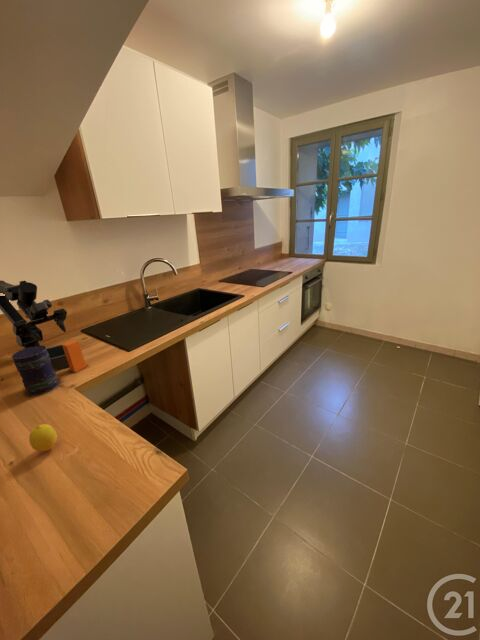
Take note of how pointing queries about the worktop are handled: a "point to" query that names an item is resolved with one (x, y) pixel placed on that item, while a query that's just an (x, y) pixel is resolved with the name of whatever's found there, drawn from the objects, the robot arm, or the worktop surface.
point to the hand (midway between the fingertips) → (53, 335)
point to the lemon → (42, 437)
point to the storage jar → (35, 370)
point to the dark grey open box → (57, 357)
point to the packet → (74, 355)
